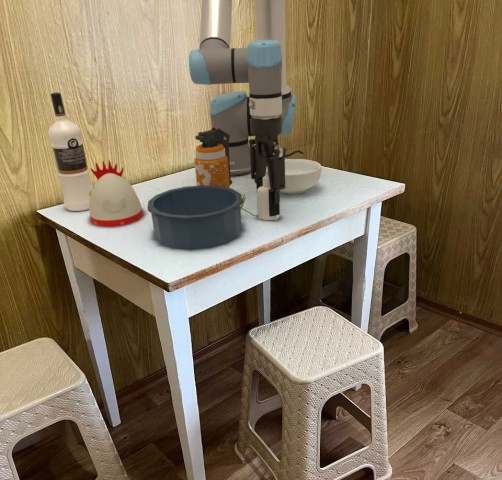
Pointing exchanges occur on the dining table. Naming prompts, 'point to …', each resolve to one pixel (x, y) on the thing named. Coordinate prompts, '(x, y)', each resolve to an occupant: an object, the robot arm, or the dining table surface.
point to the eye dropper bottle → (264, 200)
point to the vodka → (70, 159)
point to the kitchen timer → (113, 199)
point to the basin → (196, 216)
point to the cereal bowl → (300, 175)
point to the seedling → (243, 203)
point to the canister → (213, 159)
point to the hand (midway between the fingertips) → (268, 211)
